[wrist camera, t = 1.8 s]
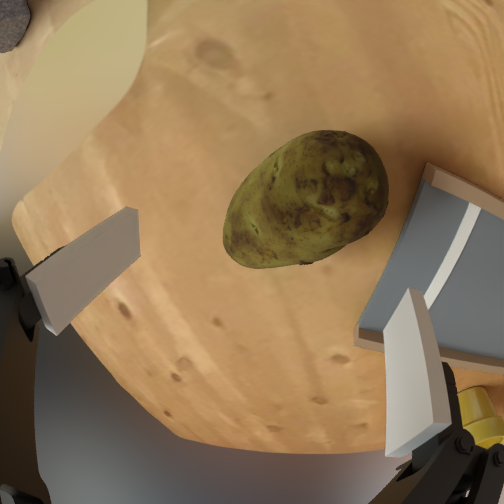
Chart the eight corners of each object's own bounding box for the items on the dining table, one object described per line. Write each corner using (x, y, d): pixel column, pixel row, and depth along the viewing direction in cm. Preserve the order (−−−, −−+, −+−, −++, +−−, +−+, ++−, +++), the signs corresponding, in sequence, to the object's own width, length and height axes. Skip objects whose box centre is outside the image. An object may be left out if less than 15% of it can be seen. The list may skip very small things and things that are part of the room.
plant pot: (489, 403, 27) (497, 453, 19) (435, 420, 31) (436, 472, 23) (501, 369, 23) (515, 427, 15) (437, 390, 28) (442, 453, 20)
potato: (207, 169, 23) (153, 202, 16) (359, 113, 17) (373, 117, 10) (248, 253, 26) (213, 310, 19) (390, 216, 20) (411, 272, 13)
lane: (426, 161, 17) (442, 173, 14) (581, 255, 13) (595, 272, 10) (354, 328, 26) (353, 355, 23) (510, 362, 22) (516, 382, 19)
